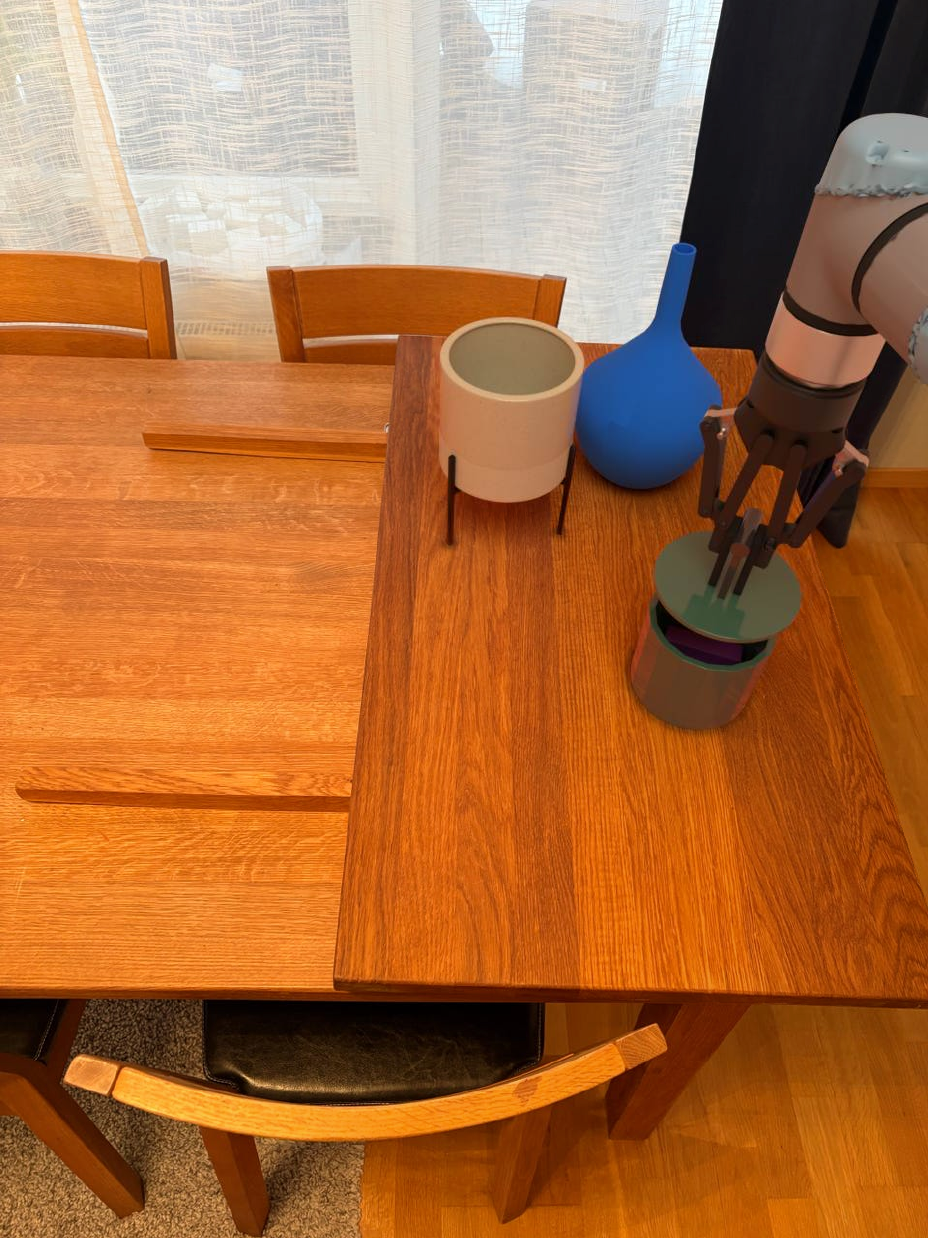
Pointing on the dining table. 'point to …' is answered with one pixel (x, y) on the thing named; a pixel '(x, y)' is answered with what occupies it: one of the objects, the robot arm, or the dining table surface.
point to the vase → (648, 395)
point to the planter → (508, 411)
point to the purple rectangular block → (704, 647)
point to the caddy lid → (727, 587)
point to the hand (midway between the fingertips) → (728, 579)
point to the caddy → (691, 677)
